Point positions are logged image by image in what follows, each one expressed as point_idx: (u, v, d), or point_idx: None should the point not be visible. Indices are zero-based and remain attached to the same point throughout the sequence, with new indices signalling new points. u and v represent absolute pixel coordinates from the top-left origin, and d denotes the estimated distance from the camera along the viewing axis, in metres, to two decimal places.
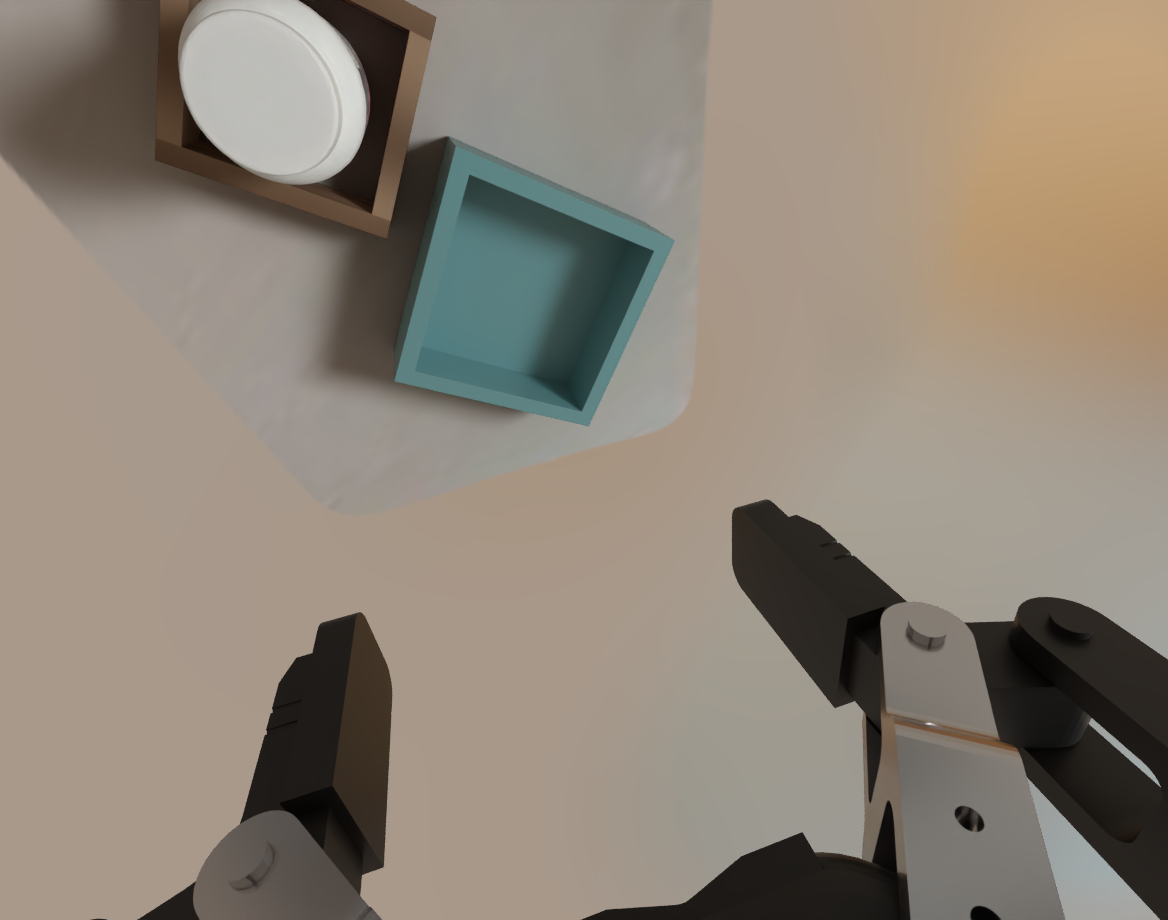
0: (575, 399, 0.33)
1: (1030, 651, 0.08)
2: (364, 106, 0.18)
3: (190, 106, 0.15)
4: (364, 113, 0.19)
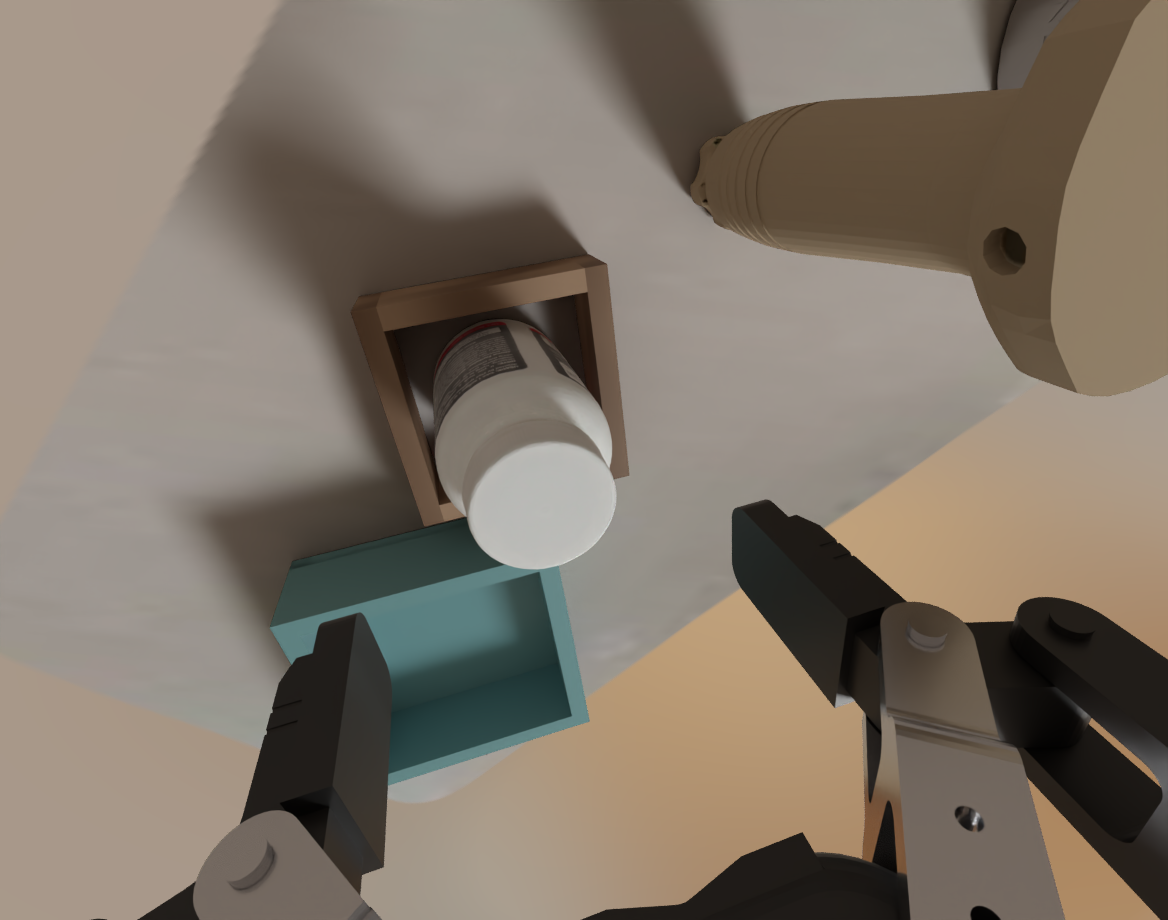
0: None
1: (1030, 651, 0.08)
2: None
3: (497, 462, 0.13)
4: None
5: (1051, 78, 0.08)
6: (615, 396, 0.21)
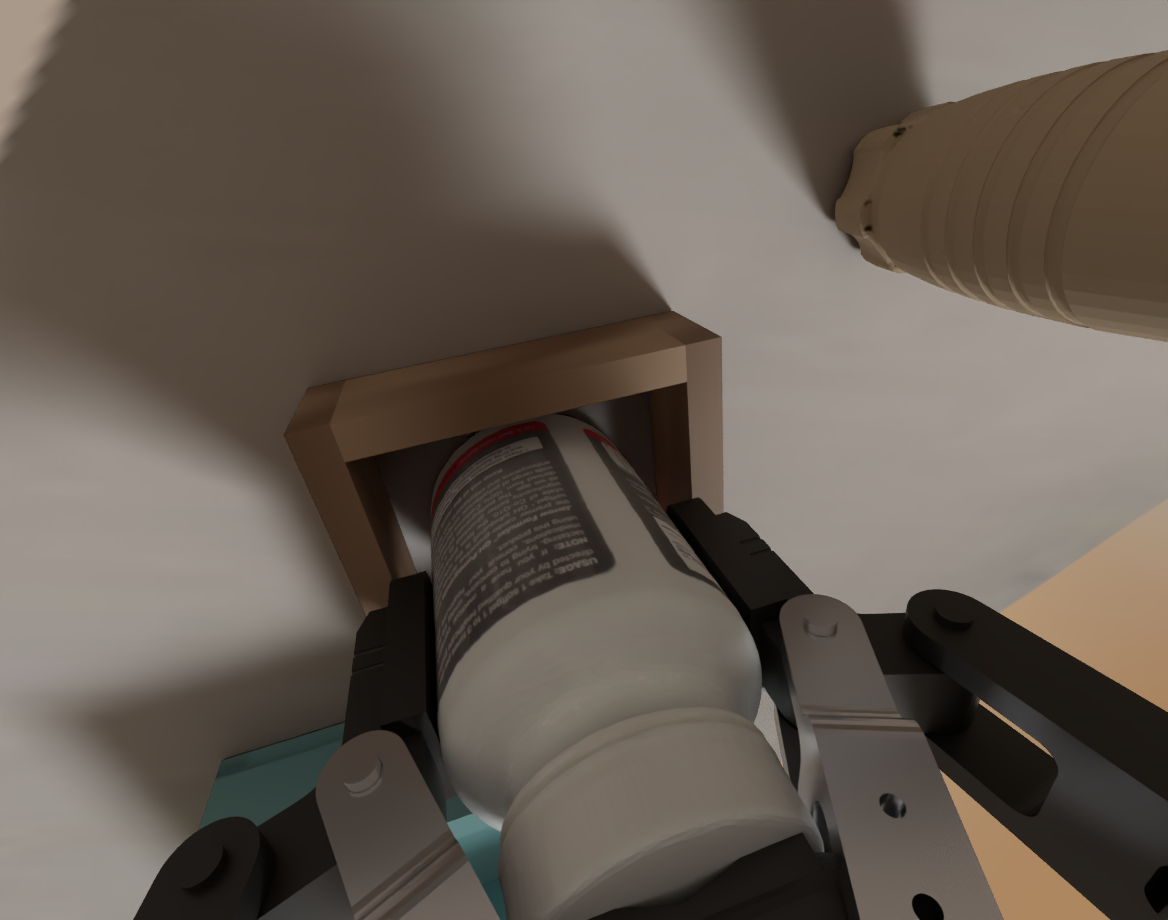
0: None
1: (925, 647, 0.08)
2: None
3: (591, 880, 0.06)
4: None
5: None
6: None
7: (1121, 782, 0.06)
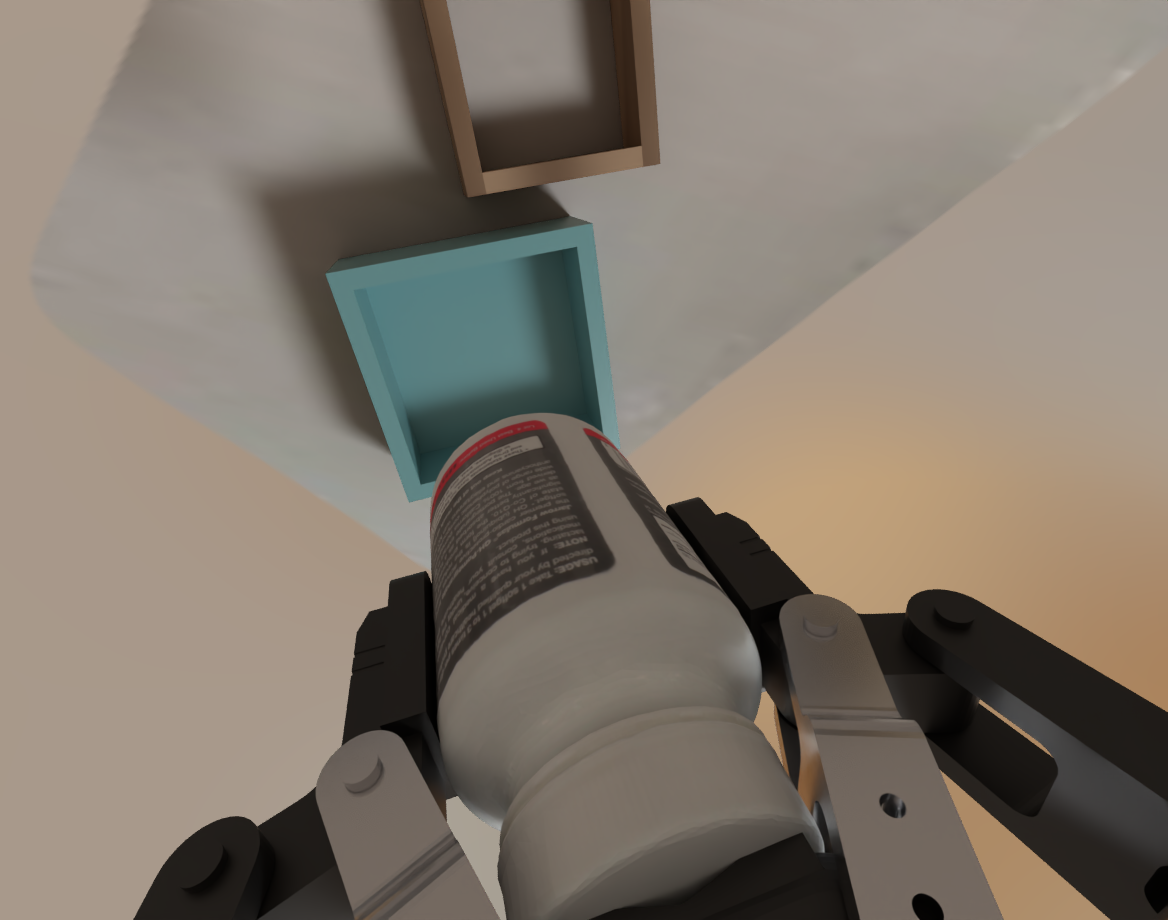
0: (421, 470, 0.28)
1: (925, 647, 0.08)
2: None
3: (591, 879, 0.06)
4: None
5: None
6: (648, 63, 0.22)
7: (1121, 782, 0.06)
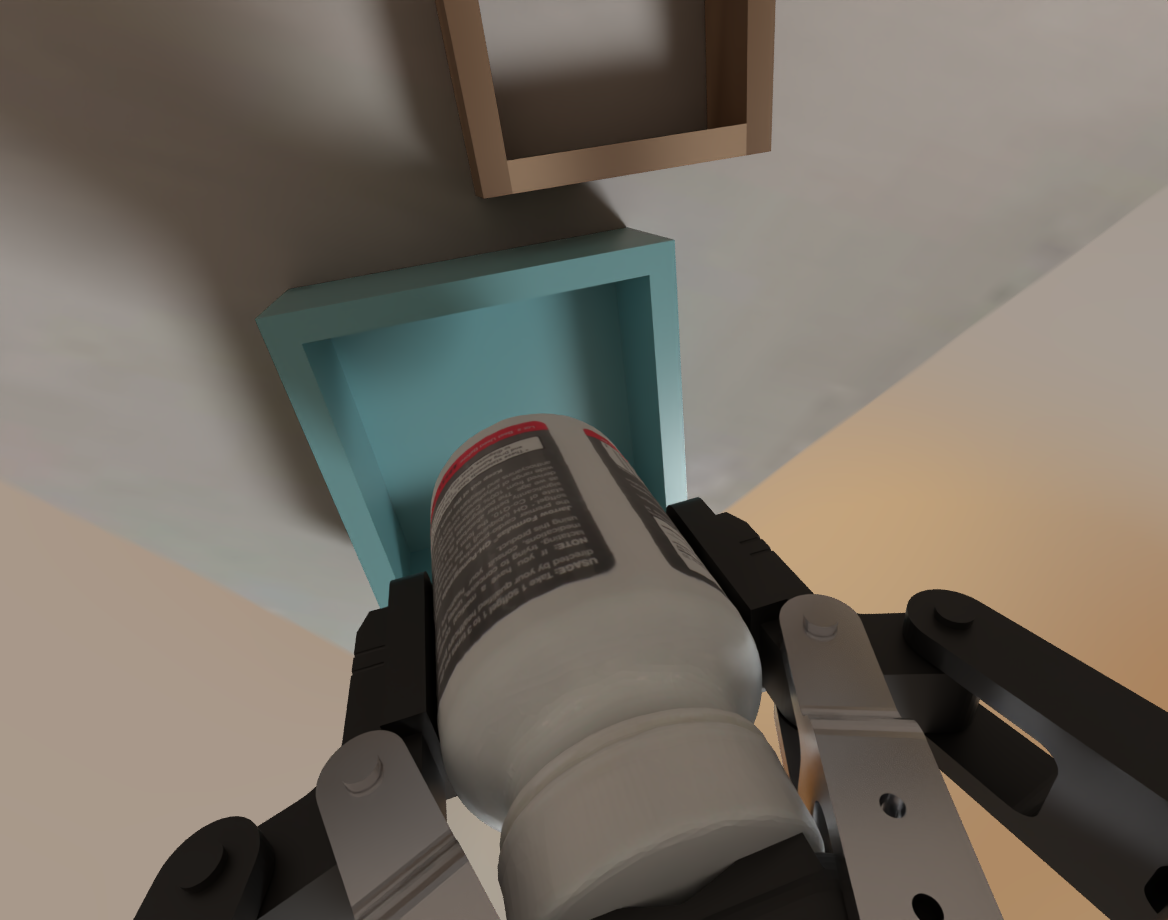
0: None
1: (925, 647, 0.08)
2: None
3: (591, 881, 0.06)
4: None
5: None
6: None
7: (1121, 782, 0.06)
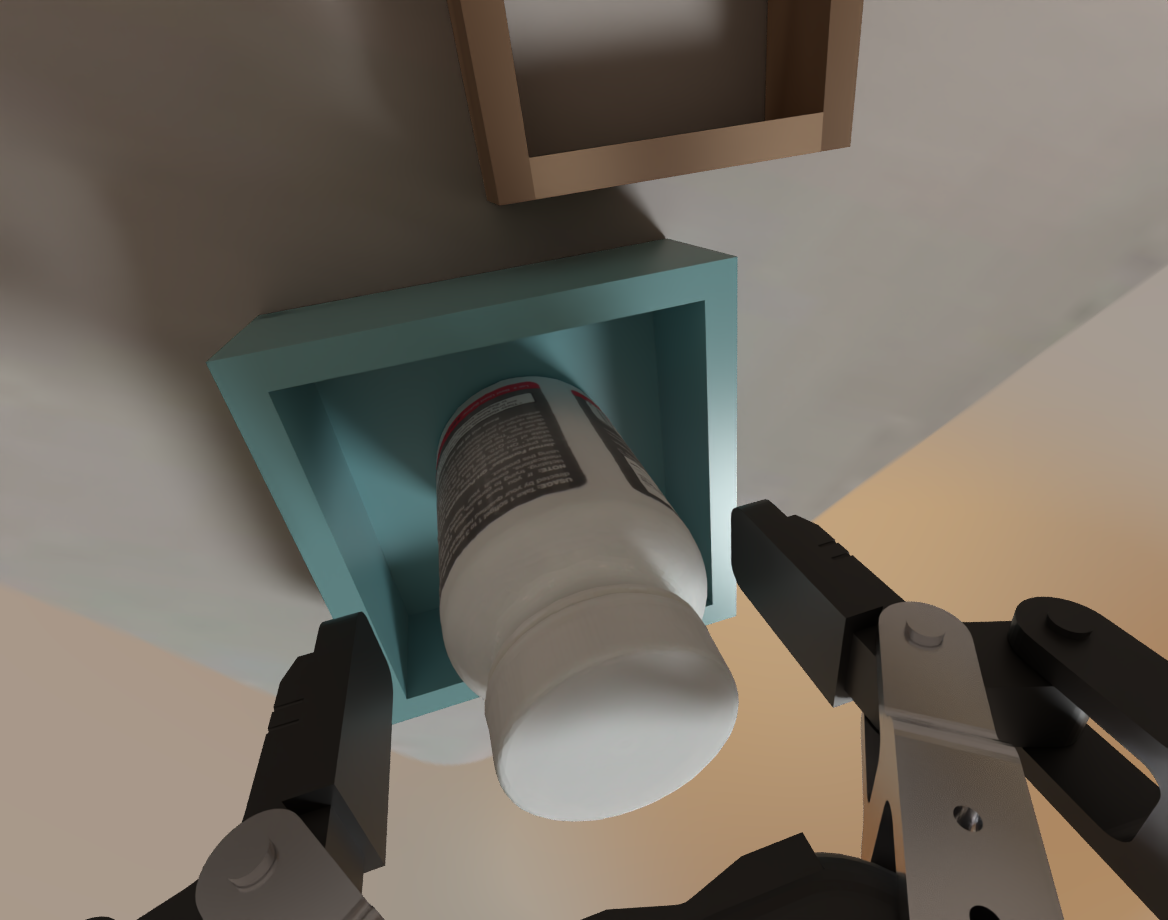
0: (408, 659, 0.17)
1: (1028, 651, 0.08)
2: None
3: (552, 688, 0.08)
4: None
5: None
6: None
7: None
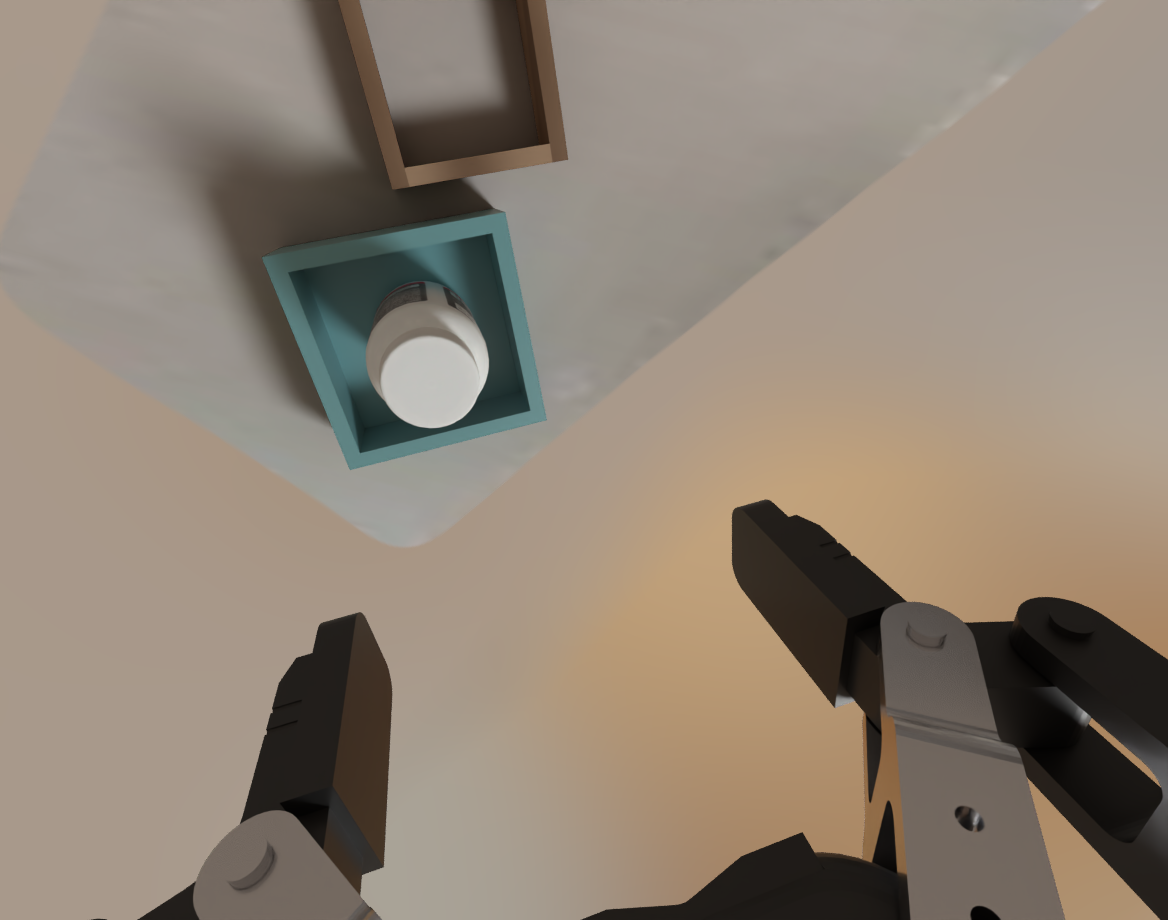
0: (362, 442, 0.31)
1: (1030, 651, 0.08)
2: None
3: (397, 348, 0.21)
4: None
5: None
6: (550, 70, 0.25)
7: None
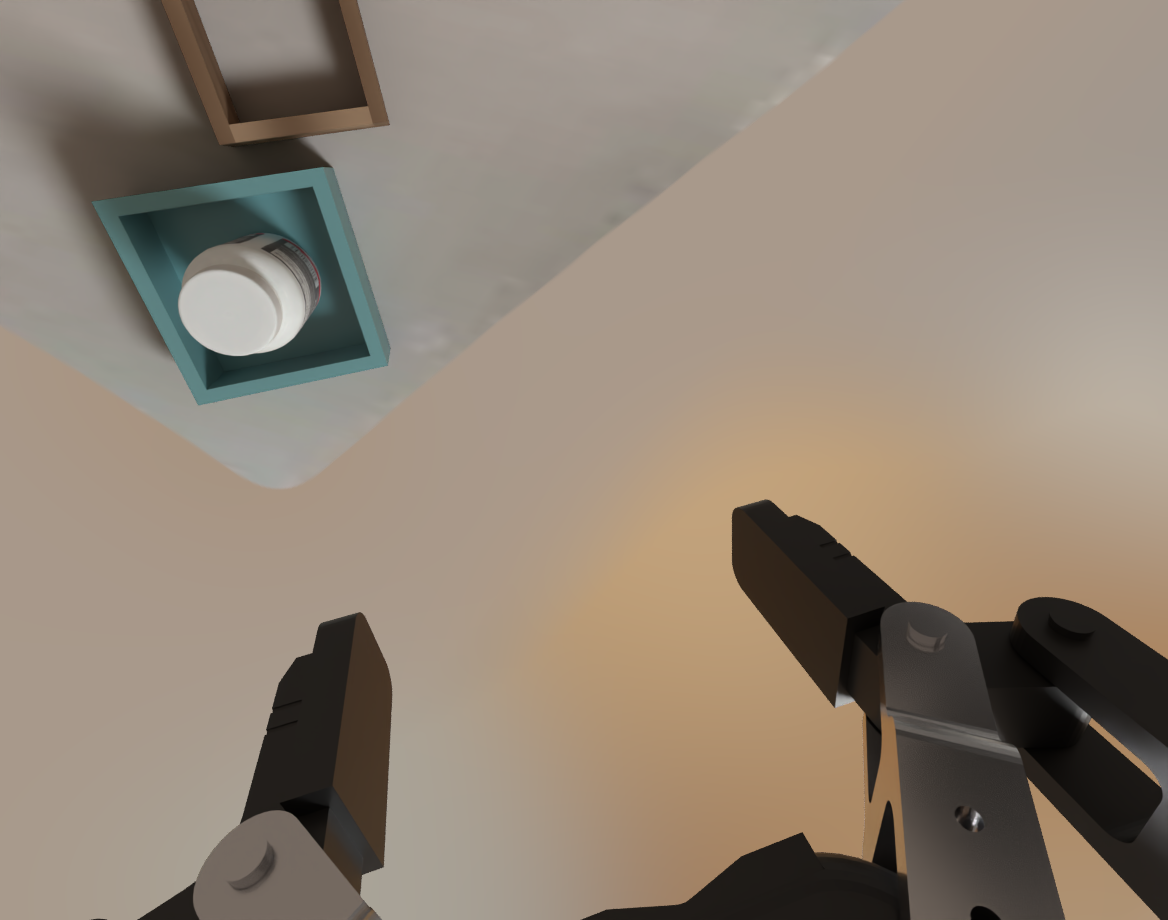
0: (215, 382, 0.33)
1: (1030, 651, 0.08)
2: (277, 348, 0.29)
3: (191, 279, 0.24)
4: (274, 349, 0.29)
5: None
6: (361, 38, 0.28)
7: None
